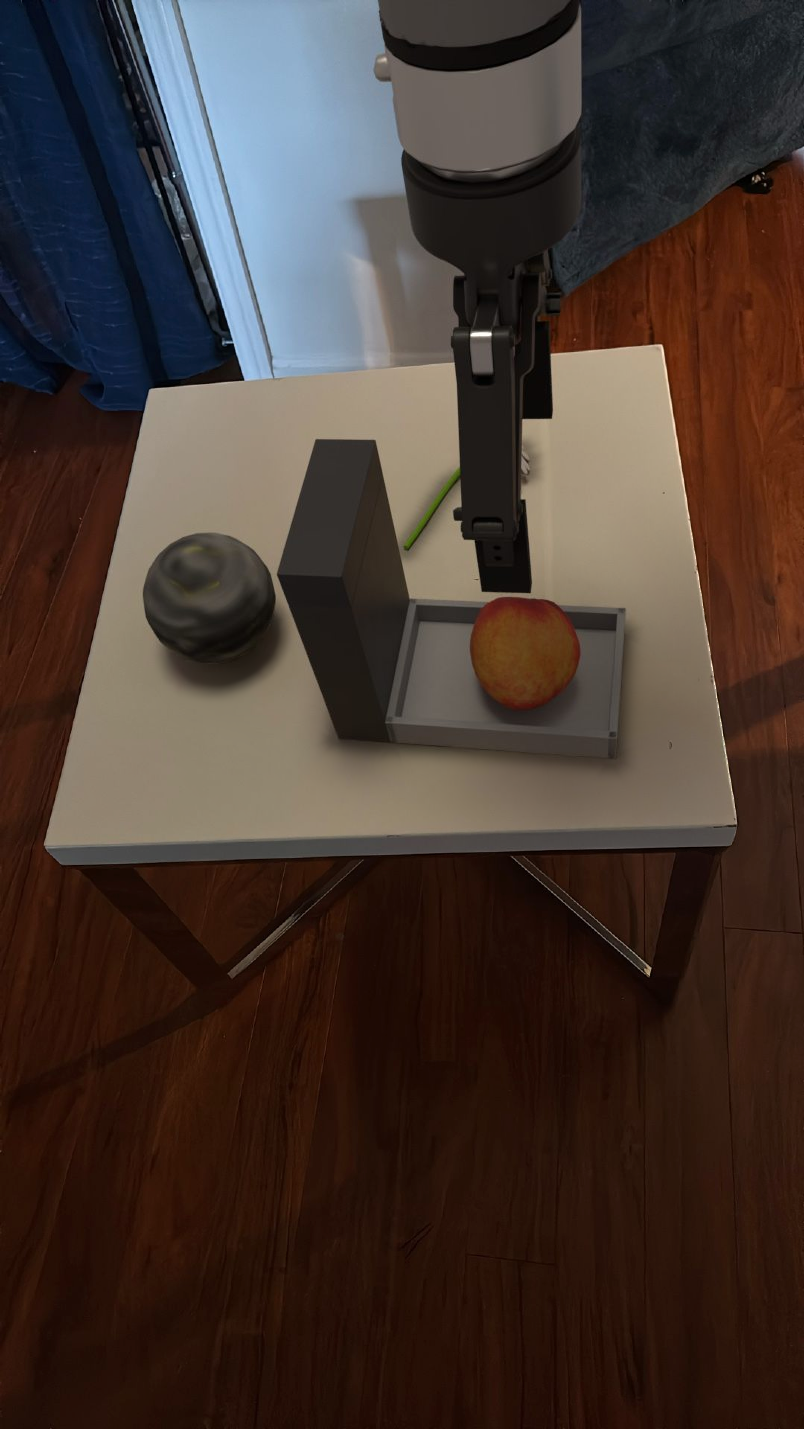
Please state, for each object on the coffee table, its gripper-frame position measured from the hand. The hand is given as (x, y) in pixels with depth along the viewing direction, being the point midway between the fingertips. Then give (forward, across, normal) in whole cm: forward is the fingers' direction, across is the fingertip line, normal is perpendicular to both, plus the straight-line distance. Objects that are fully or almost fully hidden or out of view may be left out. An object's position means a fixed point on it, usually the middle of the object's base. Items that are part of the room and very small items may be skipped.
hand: (519, 496), depth 61 cm
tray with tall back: (+20, 0, -4) cm, 20 cm away
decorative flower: (+20, -19, -6) cm, 28 cm away
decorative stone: (+20, -3, -25) cm, 32 cm away
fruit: (+19, 0, -1) cm, 19 cm away
